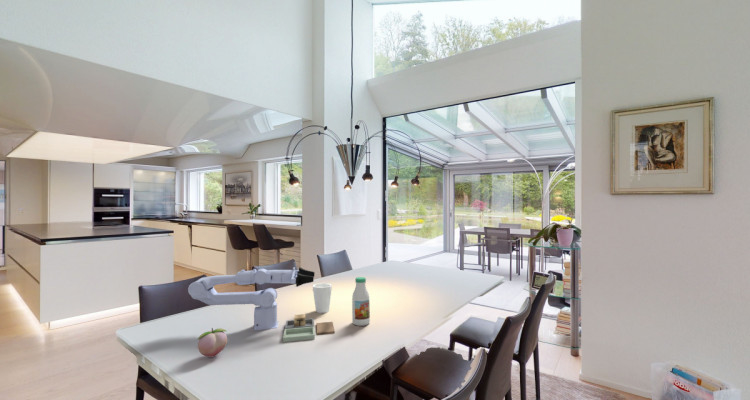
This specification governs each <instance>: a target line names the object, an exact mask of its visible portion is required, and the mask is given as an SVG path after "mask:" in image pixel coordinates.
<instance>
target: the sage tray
mask: <svg viewBox="0 0 750 400" xmlns="http://www.w3.org/2000/svg"><path fill="white" fill-rule="evenodd" d="M315 331H316V330H315V326H314V327H303V328H292V329H285V328H284V331H283V337H282V342H283V343H288V342H289V343H290V342H299V341H309V340H315V338H316V336H315V335H316V334H315V333H316V332H315Z"/></svg>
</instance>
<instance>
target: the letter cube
mask: <svg viewBox="0 0 750 400" xmlns="http://www.w3.org/2000/svg"><path fill="white" fill-rule="evenodd" d="M305 319H306V314H305V313H303V314H294V319H293V320H294V327H297V326H305Z"/></svg>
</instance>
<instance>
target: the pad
mask: <svg viewBox="0 0 750 400" xmlns="http://www.w3.org/2000/svg"><path fill="white" fill-rule="evenodd" d="M335 332H336V331H335V325H334V322H333V321H328V322H327V321H326V322H325V321H324V322H316V335H319V336H321V335H330V334H335Z"/></svg>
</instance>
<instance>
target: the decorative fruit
mask: <svg viewBox="0 0 750 400" xmlns="http://www.w3.org/2000/svg"><path fill="white" fill-rule="evenodd" d="M225 332H227V330H226V328H225V329H224V328H216V329H213V327H212V328H211V330H208V331H205V332H203V333H201V334H200V335H199V336H198V337H197V340H198V341H197V349H198V351H199V353H200V354H201V355H203V356H205V357H208V358H213V357H215V356H217V355H218V354H220V353H221V352H222V351H223V350H224V349H225V348H226V345H227V343H228V337H227V334H226V333H225Z"/></svg>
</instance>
